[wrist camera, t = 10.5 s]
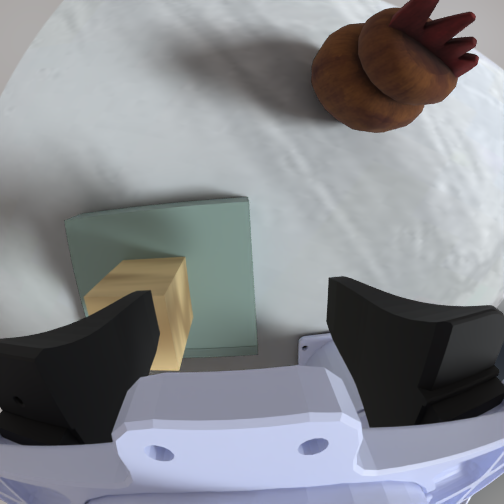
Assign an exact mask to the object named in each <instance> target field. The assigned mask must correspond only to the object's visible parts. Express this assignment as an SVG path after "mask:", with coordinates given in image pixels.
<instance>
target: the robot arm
mask: <svg viewBox="0 0 504 504" xmlns="http://www.w3.org/2000/svg"><path fill="white" fill-rule="evenodd" d="M326 322H327V325H328V328H329V331H330V333H327V334H319V335H310V336H303V337H301V338H300V339H299V344H298V365H294V366H284V367H275V368H264V369H251V370H236V371H216V372H165V373H160V374H155V375H150V376H148V374H149V371H150V369H151V366H152V363H153V360H154V358H155V355H156V352H157V347H158V342H159V337H160V330H159V326H158V321H157V317H156V312H155V308H154V303H153V298H152V293H151V290H142V291H135V292H132V293H130V294H128V295H126V296H124V297H122V298H121V299H119V300H117V301H115V302H114V303H112V304H110V305H108V306H107V307H105V308H103V309H101V310H99V311H97V312H95V313H93V314H92V315H90V316H88V317H86V318H84V319H81V320H79V321H77V322H74V323H72V324H69V325H67V326H64V327H60V328H57V329H54V330H51V331H47V332H44V333H39V334H35V335H29V336H24V337H15V338H4V339H0V407H1V409H2V412H1V413H0V499H1V500H2V501H4V502H6V503H7V504H467V503H468V501H469V500H470V498H471V496H472V495H474V494H475V493H476V492H478V491H479V490H481V489H482V488H484V487H485V486H487V485H488V484H489V483H491V482H492V481H494V480H495V479H496V478H498V477H499V476H500V475H502V474H503V473H504V380H503V381H502V382H501V381H500V380H499V379H498V378H497V377H496V376H498V374H499V369H498V368H497V367H496V366H495V365H494V364H495V361H496V359H497V356H498V354H499V351H500V349H501V346H502V344H503V341H504V315H503V313H502V312H501V311H499V310H498V309H496V308H495V307H494V306H491V305H486V306H445V305H436V304H429V303H423V302H418V301H414V300H410V299H406V298H402V297H399V296H395V295H393V294H390V293H387V292H384V291H381V290H379V289H376V288H374V287H371V286H369V285H366V284H364V283H361V282H359V281H356V280H354V279H351V278H348V277H344V276H342V277H331V278H329V285H328V304H327V320H326ZM303 346H307V347H306V348H302V347H303Z"/></svg>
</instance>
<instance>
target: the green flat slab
mask: <svg viewBox="0 0 504 504" xmlns="http://www.w3.org/2000/svg"><path fill="white" fill-rule="evenodd" d="M64 222H65V228H66V234H67V240H68V245H69V251H70V256H71V260H72V265H73V270H74V274H75V278H76V282H77V286H78V290H79V294H80V298H81V302H82V305H83V309H84V312H85V316H86V317H88V316H89V315H88V311H87V307H86V304H85V300H84V296H85V295H86V294H87V293H88V292H89V291H90V290H91V289H92V288H93V287H94V286H96V285H97V284H98V283H99V282H100V281H101V280H102V279H103V278H104V277H105V276H106V275H107V274H108V273H109V272H111V271H112V270H113V269H114V268H115V267H116V266H117V265H118V264H119V263H120V262H122V261H123V260H135V259H153V258H170V257H185V258H186V267H187V275H188V283H189V291H190V298H191V305H192V312H193V320H192V324H191V327H190V331H189V335H188V339H187V342H186V346H185V350H184V354H183V358H200V357H227V356H245V355H258V345H257V328H256V312H255V295H254V278H253V261H252V244H251V227H250V210H249V200H248V197H238V198H224V199H211V200H199V201H187V202H176V203H166V204H156V205H147V206H138V207H129V208H121V209H113V210H105V211H98V212H90V213H83V214H80V215H77V216H74V217H72V218H69V219H67V220H64Z"/></svg>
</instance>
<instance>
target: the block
mask: <svg viewBox="0 0 504 504" xmlns="http://www.w3.org/2000/svg"><path fill="white" fill-rule="evenodd" d="M142 290H151V293H152V298H153V303H154V308H155V312H156V317H157V321H158V326H159V330H160V337H159V342H158V347H157V352H156V355H155V358H154V360H153V363H152V366H151V369H150V370H167V371H179V370H180V366H181V362H182V358H183V354H184V350H185V346H186V342H187V339H188V335H189V331H190V327H191V324H192V320H193V312H192V305H191V298H190V291H189V283H188V275H187V267H186V258H185V257H170V258H153V259H135V260H123V261H122V262H120V263H119V264H118V265H117V266H116V267H115V268H114V269H113V270H112V271H111V272H109V273H108V274H107V275H106V276H105V277H104V278H103V279H102V280H101V281H100V282H99V283H98V284H97V285H96V286H94V287H93V288H92V289H91V290H90V291H89V292H88V293H87V294H86V295H85V296H84V300H85V304H86V307H87V311H88V315H89V316H90V315H92V314H93V313H95V312H97V311H99V310H101V309H103V308H105V307H107V306H108V305H110V304H112V303H114V302H115V301H117V300H119V299H121V298H122V297H124V296H126V295H128V294H130V293H132V292H135V291H142Z"/></svg>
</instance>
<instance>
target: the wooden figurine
mask: <svg viewBox="0 0 504 504" xmlns="http://www.w3.org/2000/svg"><path fill="white" fill-rule="evenodd" d="M438 2H439V0H410V1H409V2H407V3H406V4H405V5H404V6H403V7H402V8H389V9H384V10H382V11H380V12H379V13H377V14H375V15H373V16H372V17H370V18H369V19H368V20H367V21H366V23H359V24H349V25H347V26H344V27H342V28H340V29H339V30H337V31H335V32H334V33H332V34H331V35H329V37H328V38H327V39H326V41H325V42H324V44H323V45H322V47H321V48H320V50H319V52H318V53H317V55H316V57H315V58H314V60H313V64H312V76H311V83H312V86H313V88H314V91H315V93H316V95H317V98H318V99H319V101H320V102H321V104H322V105H323V107H324V108H325V110H327V111H328V112H329V113H330V114H331V115H332V116H333V117H334V118H335V119H337V120H338V121H340V122H342V123H343V124H345V125H346V126H348V127H350V128H351V129H354V130H359V131H366V132H373V133H379V132H386V131H389V130H393V129H397V128H400V127H404V126H407V125H408V124H410V123H411V122H412V121H413V120H414V119H415V118H416V117H417V116H418V115H419V114H420V113H421V112H422V111H423V108H424V105H427V104H435V103H438V102H441V101H443V100H444V99H445V98H446V97H447V96H448V95H449V94H450V93H451V92H452V91H453V89H454V88H455V87H456V84H457V80H458V77H460V76H461V75H463V74H464V73H466V72H468V71H469V70H471V69H472V68H473V67H475V66H476V65H477V64H478V60H479V57H478V56H477V55H475V54H470V53H466V52H468V51H469V50H471V49H473V48H474V47H475V46H476V43H477V40H476V39H475V38H474V37H461V38H453V37H454V36H455V35H456V34H458V33H459V32H460V31H462V30H463V29H464V28H465V27H467V26H468V25H469V24H471V23H472V22H473V21H475V18H476V16H475V14H473V13H472V12H466V13H461V14H457V15H452V16H448V17H444V18H440V19H436V20H431V19H430V18H429V17H430V15H431V13H432V12H433V10H434V8H435V7H436V5H437V3H438Z"/></svg>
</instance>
